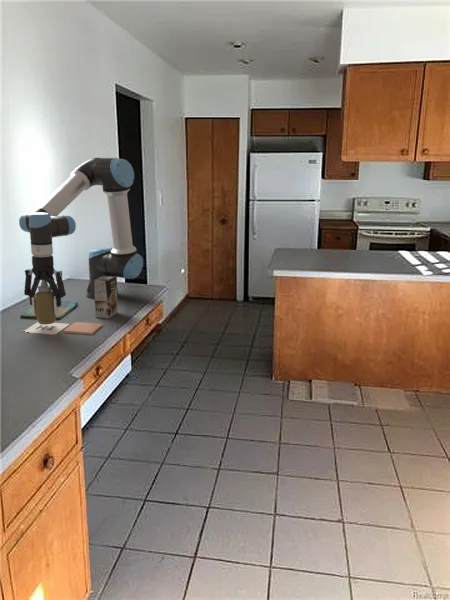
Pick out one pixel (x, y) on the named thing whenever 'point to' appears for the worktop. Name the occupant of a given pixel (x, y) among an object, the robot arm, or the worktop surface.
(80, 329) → the coaster pad
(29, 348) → the worktop surface
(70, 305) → the dish towel
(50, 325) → the white flat square slab
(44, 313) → the squeeze bottle
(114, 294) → the coffee box
